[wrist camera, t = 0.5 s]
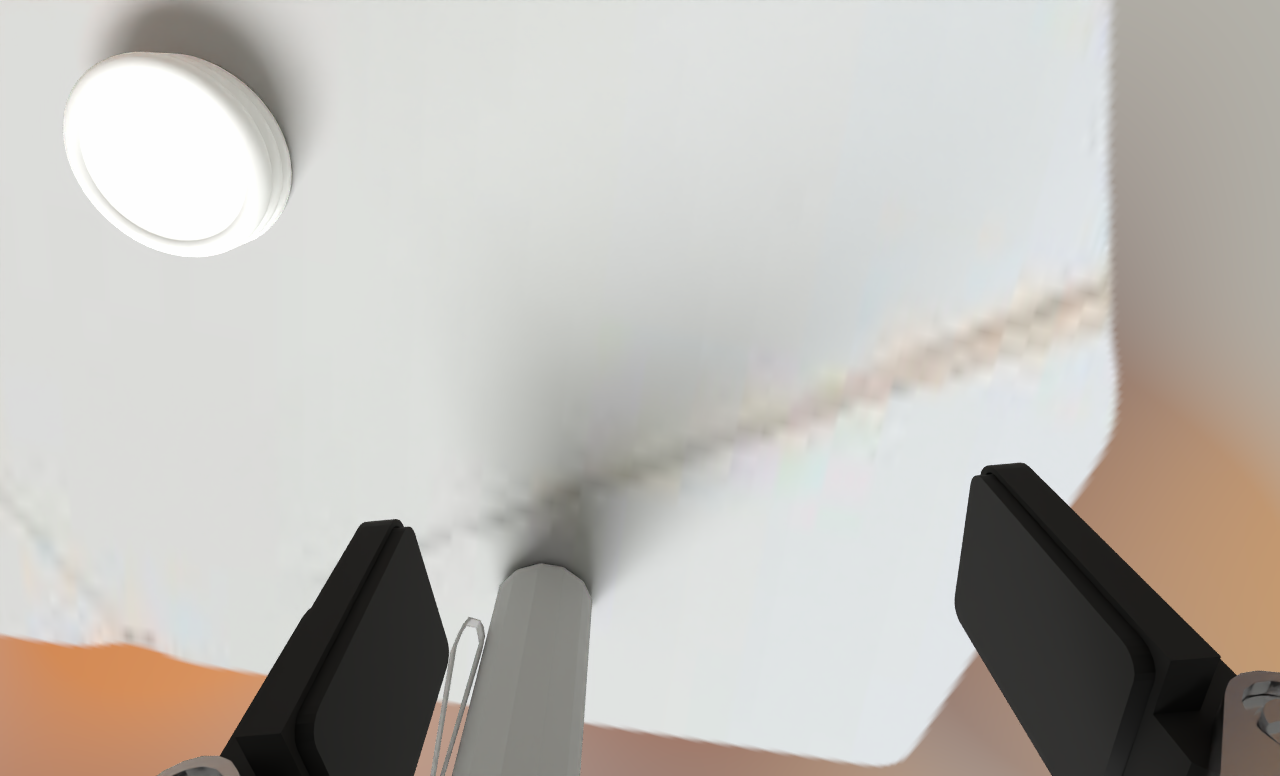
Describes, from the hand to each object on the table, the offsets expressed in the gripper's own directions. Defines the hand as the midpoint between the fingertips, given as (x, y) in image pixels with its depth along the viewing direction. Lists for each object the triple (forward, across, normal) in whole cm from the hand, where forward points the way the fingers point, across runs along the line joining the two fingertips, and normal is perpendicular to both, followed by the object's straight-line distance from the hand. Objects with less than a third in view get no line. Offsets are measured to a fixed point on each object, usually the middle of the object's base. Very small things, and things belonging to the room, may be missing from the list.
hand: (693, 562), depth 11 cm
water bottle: (+30, +11, +27) cm, 42 cm away
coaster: (+31, +24, -6) cm, 39 cm away
